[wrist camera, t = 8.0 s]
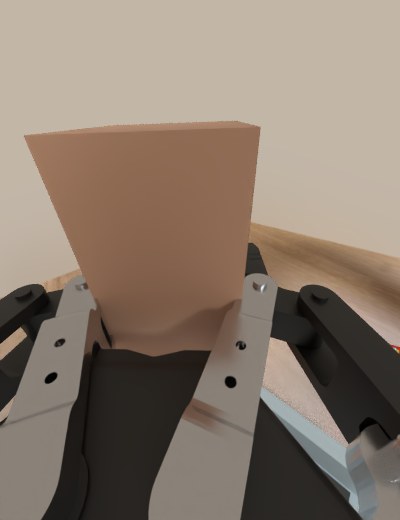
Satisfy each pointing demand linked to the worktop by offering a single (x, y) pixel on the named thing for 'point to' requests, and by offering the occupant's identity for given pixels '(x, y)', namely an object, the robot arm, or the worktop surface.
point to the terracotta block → (156, 223)
